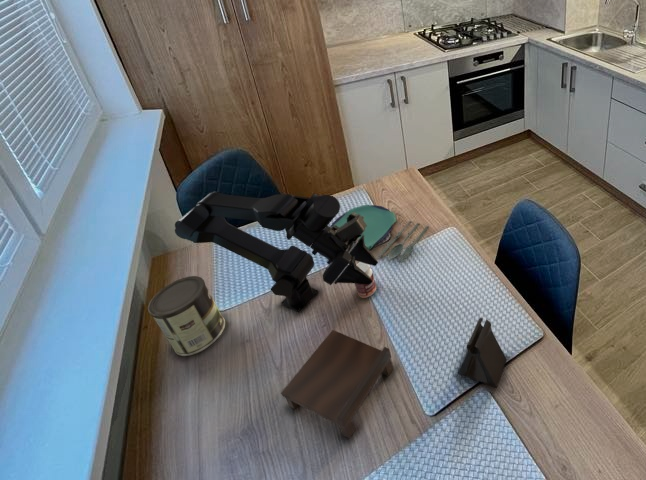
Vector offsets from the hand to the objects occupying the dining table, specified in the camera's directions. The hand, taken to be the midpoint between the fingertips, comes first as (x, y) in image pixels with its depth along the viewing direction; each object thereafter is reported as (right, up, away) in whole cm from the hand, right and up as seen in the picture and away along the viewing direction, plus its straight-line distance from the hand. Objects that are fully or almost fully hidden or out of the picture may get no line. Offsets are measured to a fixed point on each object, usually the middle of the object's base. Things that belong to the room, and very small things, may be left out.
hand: (374, 272), depth 96 cm
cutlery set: (-9, -1, +28) cm, 30 cm away
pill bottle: (-5, -9, +11) cm, 15 cm away
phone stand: (+26, -17, -8) cm, 33 cm away
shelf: (-3, -19, -11) cm, 22 cm away
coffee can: (-42, -15, +1) cm, 45 cm away
